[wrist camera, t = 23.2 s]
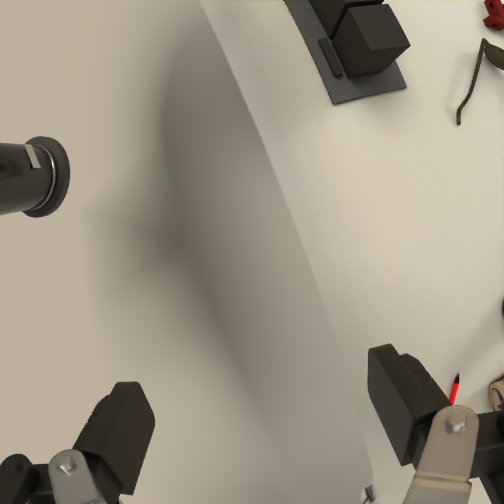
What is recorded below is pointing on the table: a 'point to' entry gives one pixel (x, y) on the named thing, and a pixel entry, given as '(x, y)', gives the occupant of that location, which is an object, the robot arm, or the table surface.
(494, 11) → the bracket
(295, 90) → the table surface
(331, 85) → the dock
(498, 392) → the pencil case
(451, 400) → the pen
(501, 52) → the eyeglasses
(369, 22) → the black rectangular box
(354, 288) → the table surface
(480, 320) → the table surface
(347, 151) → the table surface
